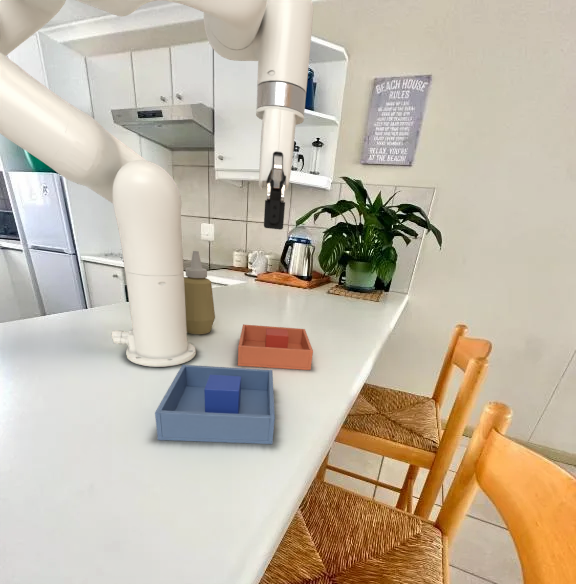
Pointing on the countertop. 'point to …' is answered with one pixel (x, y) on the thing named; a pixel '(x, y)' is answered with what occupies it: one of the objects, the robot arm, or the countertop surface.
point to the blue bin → (217, 426)
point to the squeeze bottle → (198, 298)
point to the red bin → (274, 349)
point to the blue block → (223, 394)
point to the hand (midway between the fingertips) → (272, 228)
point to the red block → (276, 338)
